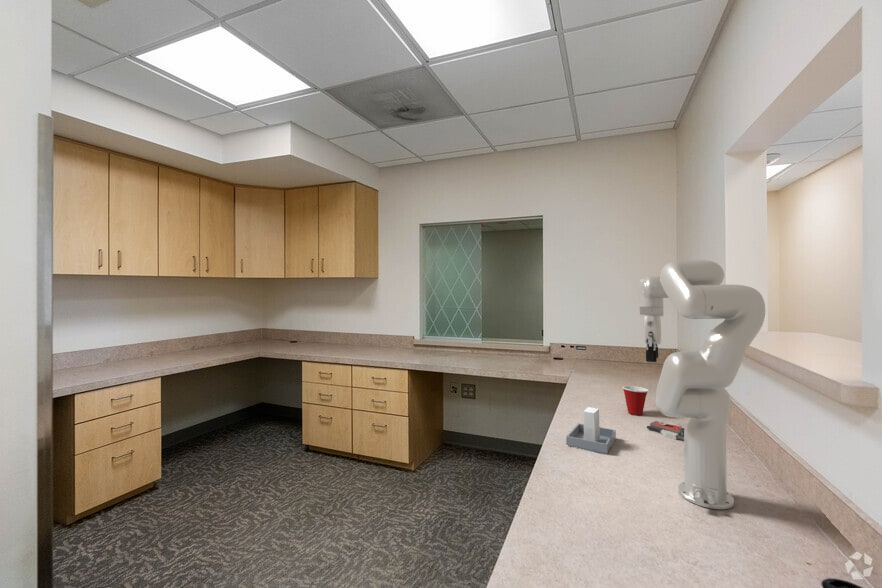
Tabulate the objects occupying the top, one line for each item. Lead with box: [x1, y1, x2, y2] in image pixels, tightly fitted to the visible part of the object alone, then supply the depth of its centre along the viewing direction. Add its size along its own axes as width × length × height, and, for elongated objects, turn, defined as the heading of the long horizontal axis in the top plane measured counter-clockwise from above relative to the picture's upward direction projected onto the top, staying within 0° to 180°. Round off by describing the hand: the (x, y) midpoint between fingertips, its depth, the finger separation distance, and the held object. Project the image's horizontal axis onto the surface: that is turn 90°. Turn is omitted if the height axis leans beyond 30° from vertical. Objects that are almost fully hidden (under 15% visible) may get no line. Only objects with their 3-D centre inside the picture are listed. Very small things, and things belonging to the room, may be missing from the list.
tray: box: [565, 423, 617, 456], centre depth 142 cm, size 16×14×4 cm
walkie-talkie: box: [646, 420, 685, 441], centre depth 147 cm, size 9×4×20 cm
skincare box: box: [583, 406, 600, 442], centre depth 142 cm, size 6×4×12 cm
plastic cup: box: [622, 385, 650, 417], centre depth 173 cm, size 11×11×12 cm
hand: (652, 359), depth 136 cm, fingers open, 9 cm apart
